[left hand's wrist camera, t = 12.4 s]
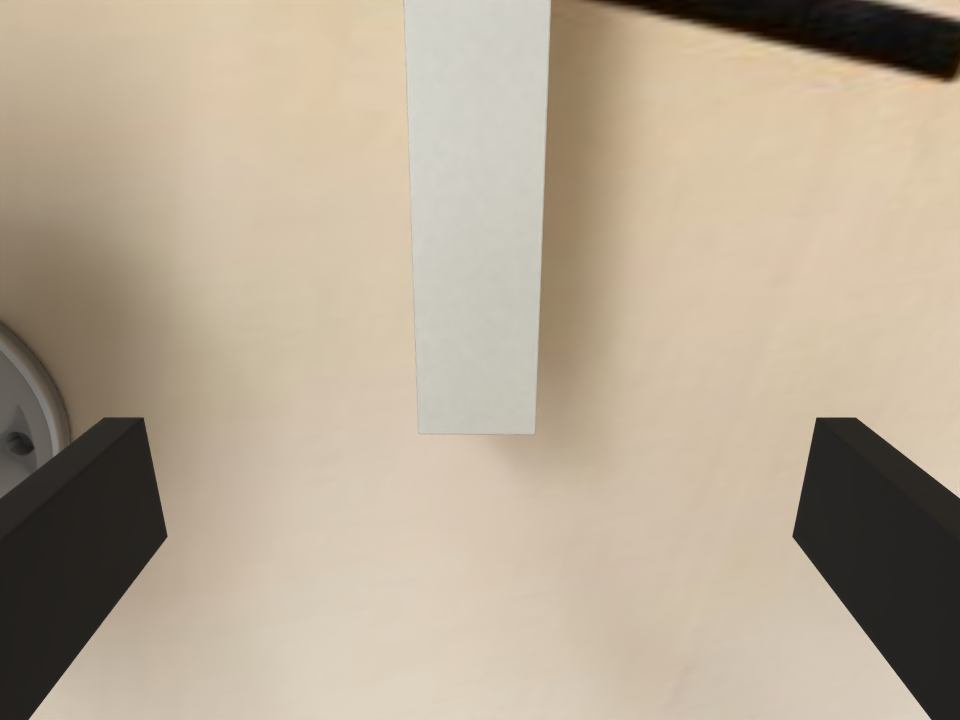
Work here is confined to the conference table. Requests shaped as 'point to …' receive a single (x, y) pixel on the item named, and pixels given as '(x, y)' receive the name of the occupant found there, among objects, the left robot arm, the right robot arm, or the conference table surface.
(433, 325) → the bar
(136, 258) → the conference table surface
